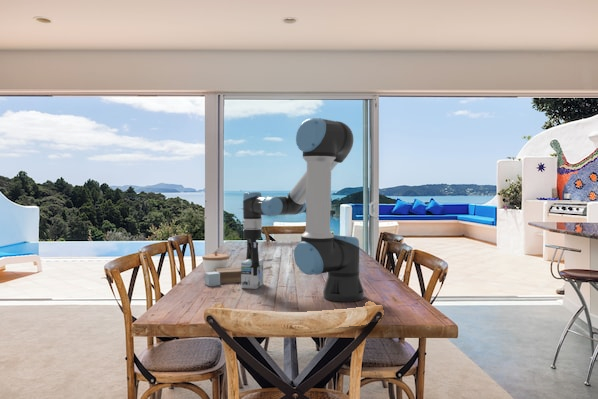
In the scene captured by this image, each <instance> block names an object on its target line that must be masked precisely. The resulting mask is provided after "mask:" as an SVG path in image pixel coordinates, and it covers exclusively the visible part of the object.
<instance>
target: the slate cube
mask: <svg viewBox="0 0 598 399" xmlns="http://www.w3.org/2000/svg"><path fill="white" fill-rule="evenodd" d="M204 285H206V286H208V287H215V286H221V283H220V273H218V272H204Z"/></svg>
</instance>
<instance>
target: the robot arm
mask: <svg viewBox="0 0 598 399" xmlns="http://www.w3.org/2000/svg"><path fill="white" fill-rule="evenodd" d="M295 143H296V146H297V148H298V150H300V151H301V152H302V159H303V160H304V161H305V162H306V171H305V172H304V173H303V175H302V177H301V178H300V179H299V180H298V181H297V183H296V184H295V186H293V188H292V189H291V190H290V191H289V193H288V194H287V195H286V196H262V193H261V191H245V192H244V193H243V196H242V197H243V199H242V218H243V220H242V221H241V224H243V225H242V228H244V229H243V231H242V233H243V235H242V237H243V239H246V258H245V259H246V260H248V259H251V262H252V266H250V268H251V284H257V283H258V267H259V259H260V257H259V256H260V255H259V242H258V241H257V239H258V240H259V239H261V238H262V224H263V223H262V216H268V217H274V216H275V217H276V216H282V215H283V216H285V215H286V216H287V215H290V216H291V215H301V214H302V213H304V212H305V231H304V232H303V233H302V234H301V235H300V239H301V240H300V242H299V243H297V244H296V246H295V247H294V250H293V258H294V262H295V265H296V266H297V268H298V269H299V270H300V272H302V273H303V274H305V275H306V276H313V275H315V276H318V275H321V274H326V273H327V278H326V281H325V284H324V288H323V292H322V293H323V295H322V297H323V298H324V299H326V300H328V301H331V302H338V303H339V302H341V303H343V302H344V303H350V302H359V301H361V300H363V299H364V298H365V291H364V288H363V285H362V282H361V279H360V250H361V246H360V240H359V238H357V237H356V236H346V235H338V234H337V235H336V234H333V233H332V232H331V202H332V201H331V199H332V194H331V193H332V171H333V169H334V168H335V167H337V165H338V164H341V163H343V162H344V161H345V159H346V158H348V156H349V154H350V152H351V150H352V148H353V145H354V134H353V131H352V129H351V128H350V127H349V125H347V124H346V123H345V122H342V121H337V120H336V121H335V120H331V119H325V118H317V117H316V118H315V117H310V118H307V119H305V120H304V121H303V122H301V124H300V125H299V127H298V129H297V131H296V135H295Z"/></svg>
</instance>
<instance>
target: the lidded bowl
mask: <svg viewBox="0 0 598 399" xmlns="http://www.w3.org/2000/svg"><path fill="white" fill-rule="evenodd" d="M229 264H230V255H229V254H225V253H218V251H214V253H211V254H210V253H209V254H204V255H202V267H203V269H204V271H205V272H204V273H206V272H215V268H225V267H230V266H229Z"/></svg>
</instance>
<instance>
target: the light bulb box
mask: <svg viewBox="0 0 598 399" xmlns="http://www.w3.org/2000/svg"><path fill="white" fill-rule="evenodd" d="M240 265H241V266H240V267H241V282H240V283H241V284H240V288H241V289H249V290H250V289H251V290H252V289H253V290H254V289H255V290H257V289H258V288H261V286H263V285H264V259H262V258H259V267H258V283H257V284H251V268H250V266H252V262H251V259H248V260H244V261H241V262H240Z"/></svg>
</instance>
